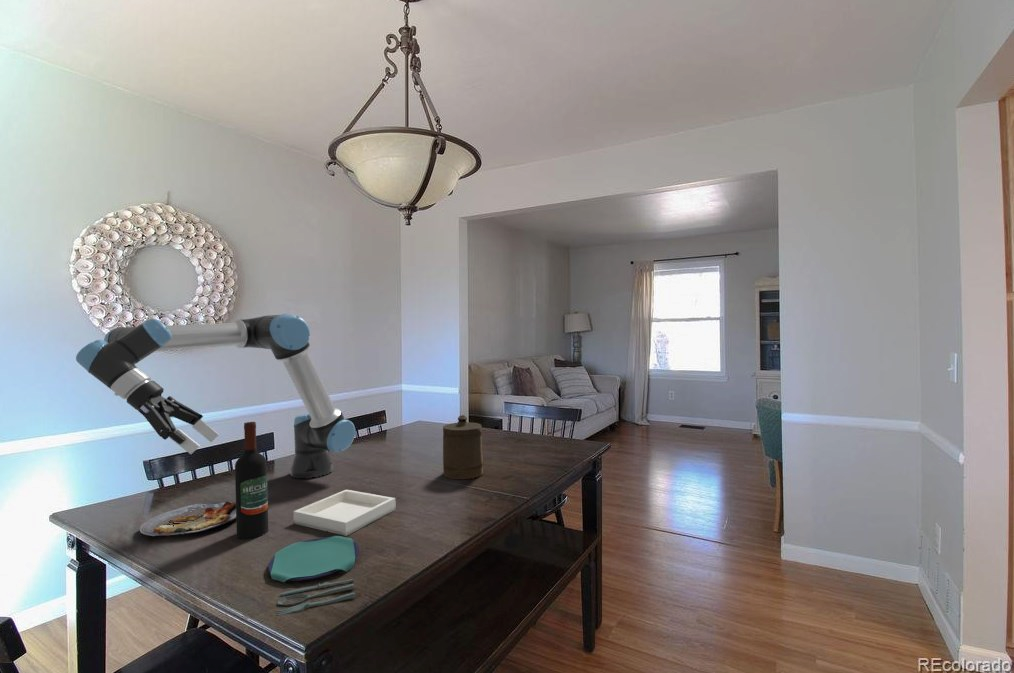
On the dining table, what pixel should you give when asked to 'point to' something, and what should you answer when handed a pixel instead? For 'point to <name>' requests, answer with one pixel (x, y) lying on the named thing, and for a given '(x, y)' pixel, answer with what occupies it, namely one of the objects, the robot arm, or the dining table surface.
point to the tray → (344, 512)
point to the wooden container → (462, 449)
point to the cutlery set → (313, 567)
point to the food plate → (191, 519)
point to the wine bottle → (251, 488)
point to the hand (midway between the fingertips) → (206, 443)
